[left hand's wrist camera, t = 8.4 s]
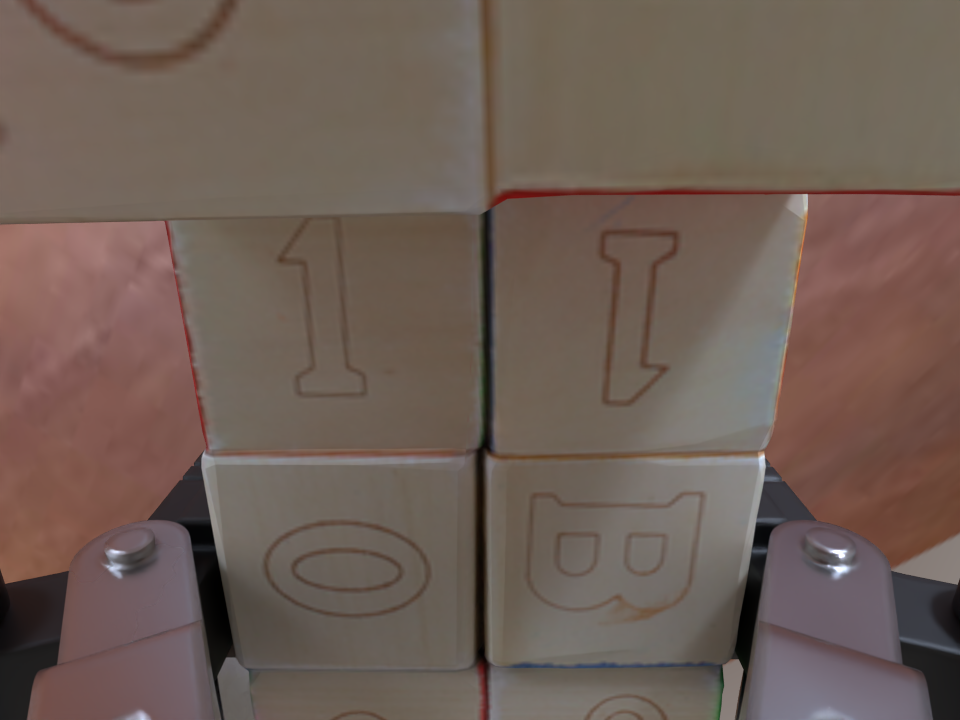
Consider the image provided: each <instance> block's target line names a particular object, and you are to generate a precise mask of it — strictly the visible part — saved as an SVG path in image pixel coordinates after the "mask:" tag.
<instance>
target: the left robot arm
mask: <svg viewBox="0 0 960 720" xmlns="http://www.w3.org/2000/svg"><path fill="white" fill-rule="evenodd" d="M204 451H205V450H204ZM204 451H203V453H204ZM203 453H202V454H203ZM202 454H201V455H200V456H199V457H198V459H197V460H196V461H195V462H194V466H191V467H190V469H189V470H188V471H187V472H186V474H185V475H184V476H183V480H180V481H179V482H178V483H177V485H176V486H175V487H174V488H173V490H172V491H171V492H170V493H169V494H168V496H167V497H166V498H165V499H164V501H163V502H162V503H161V504H160V506H159V507H158V508H157V509H156V510H155V512H154V513H153V514H152V515H151V517H150V518H149V519H148V520H147V521H140V522H135V523H131V524H127V525H124V526H120V527H118V528H115V529H112V530H110V531H108V532H106V533H104V534H102V535H100V536H98V537H96V538H95V539H93V540H92V541H90V542H89V543H87V544H86V545H85V546H84V547H83V548H82V549H80V550H79V552H78V553H77V554H76V555H75V556H74V558H73V560H72V561H71V564H70V568H69V571H66V572H62V573H57V574H52V575H47V576H43V577H38V578H33V579H28V580H23V581H18V582H13V583H8V584H5V582H4V579H3V576H2V573H1V570H0V720H225V716H224V710H223V704H222V697H221V691H220V686H219V681H218V674H219V672H220V670H221V668H222V666H223V663H224V661H225V659H226V658H236V655H235V649H234V644H233V639H232V633H231V628H230V622H229V617H228V612H227V606H226V601H225V595H224V590H223V585H222V579H221V574H220V568H219V563H218V557H217V551H216V546H215V540H214V535H213V529H212V524H211V518H210V513H209V507H208V501H207V496H206V490H205V485H204V479H203V474H202V468H201V460H202ZM765 466H766V467H765V475H764V482H763V489H762V494H761V499H760V503H759V508H758V513H757V518H756V525H755V531H754V538H753V544H752V551H751V557H750V564H749V570H748V577H747V582H746V588H745V593H744V598H743V603H742V609H741V614H740V620H739V627H738V634H737V641H736V646H735V650H734V653H733V656H732V659H739V661H740V663H741V665H742V667H743V669H744V671H743V676H742V681H741V686H740V691H739V697H738V704H737V710H736V716H735V720H960V580H959V583H958V585H956V584H950V583H946V582H941V581H936V580H930V579H925V578H920V577H916V576H911V575H906V574H902V573H897V572H893V571H891V568H890V564H889V561H888V560H887V558H886V556H885V555H884V554H883V553H882V552H881V550H880V549H878V548H877V547H876V546H875V545H874V544H873V543H871V542H870V541H868V540H867V539H865V538H864V537H862V536H860V535H858V534H856V533H854V532H852V531H850V530H848V529H845V528H842V527H840V526H836V525H833V524H829V523H825V522H820V521H817V520H816V519H815V518H814V517H813V515H812V514H811V513H810V512H809V511H808V509H807V508H806V507H805V506H804V504H803V503H802V502H801V501H800V500H799V498H798V497H797V496H796V495H795V494H794V492H793V491H792V490H791V489H790V487H789V486H788V485H787V484H786V483H785V481H782V480H781V476H780V475H779V474H778V473H777V472H776V470H775V469H774V468H773V467H770V463H769V462H768V461H767V459H766V458H765Z"/></svg>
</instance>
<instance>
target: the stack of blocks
mask: <svg viewBox="0 0 960 720" xmlns="http://www.w3.org/2000/svg"><path fill="white" fill-rule="evenodd" d="M807 194H899V195H952V196H957V195H960V0H0V224H38V223H84V222H129V221H165V224H166V230H167V235H168V240H169V246H170V252H171V257H172V263H173V268H174V274H175V279H176V285H177V290H178V296H179V302H180V307H181V313H182V318H183V324H184V329H185V335H186V340H187V346H188V351H189V357H190V363H191V368H192V374H193V380H194V386H195V392H196V397H197V403H198V409H199V414H200V420H201V425H202V431H203V435H204V438H205V442H206V445H207V447H206V449H205V451H204V453H203V454H202V460H201V468H202V474H203V479H204V485H205V490H206V496H207V501H208V507H209V513H210V518H211V524H212V529H213V535H214V540H215V546H216V551H217V557H218V563H219V568H220V574H221V579H222V585H223V590H224V595H225V601H226V606H227V612H228V617H229V622H230V628H231V633H232V639H233V644H234V649H235V655H236V659H237V660H238V662H239V664H240V665H241V666H242V667H244V668H245V669H246V670H248V671H249V686H250V696H251V704H252V710H253V716H254V720H719V719H720V712H721V703H722V693H723V688H724V679H723V668H722V664H726V663H727V662H728V661H729V660H730V659H732V656H733V653H734V650H735V646H736V641H737V634H738V627H739V620H740V614H741V609H742V603H743V598H744V593H745V588H746V582H747V577H748V570H749V564H750V557H751V551H752V544H753V538H754V531H755V525H756V518H757V513H758V508H759V503H760V499H761V494H762V489H763V482H764V475H765V467H766V466H765V456H764V450H765V448H766V446H767V444H768V443H769V441H770V439H771V436H772V433H773V429H774V425H775V423H776V420H777V412H778V402H779V397H780V392H781V387H782V382H783V375H784V369H785V363H786V357H787V351H788V345H789V339H790V331H791V324H792V316H793V309H794V302H795V295H796V289H797V282H798V275H799V269H800V262H801V256H802V250H803V243H804V237H805V231H806V225H807V218H808V197H807Z"/></svg>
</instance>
